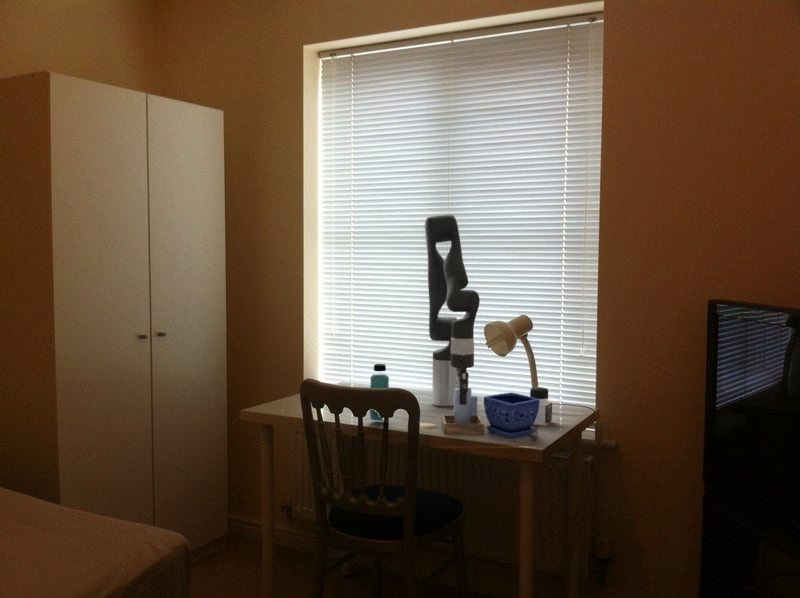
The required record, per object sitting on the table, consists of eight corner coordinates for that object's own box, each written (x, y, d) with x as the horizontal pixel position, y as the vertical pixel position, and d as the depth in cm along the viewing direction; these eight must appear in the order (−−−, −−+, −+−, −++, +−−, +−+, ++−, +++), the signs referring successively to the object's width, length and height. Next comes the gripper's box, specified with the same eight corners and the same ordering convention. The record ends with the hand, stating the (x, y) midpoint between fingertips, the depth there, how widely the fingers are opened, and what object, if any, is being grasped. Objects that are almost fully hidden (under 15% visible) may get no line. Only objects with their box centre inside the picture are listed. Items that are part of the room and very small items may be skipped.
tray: (441, 425, 241) (441, 415, 241) (479, 425, 242) (479, 415, 241) (444, 435, 229) (444, 424, 229) (483, 435, 229) (484, 424, 229)
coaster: (406, 424, 243) (406, 422, 243) (436, 424, 243) (436, 422, 243) (406, 431, 233) (406, 430, 233) (437, 431, 233) (437, 430, 233)
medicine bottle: (545, 426, 242) (546, 390, 241) (525, 423, 245) (525, 388, 244) (552, 421, 248) (552, 387, 247) (532, 419, 251) (532, 385, 250)
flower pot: (541, 435, 229) (541, 398, 228) (510, 442, 221) (511, 403, 221) (511, 427, 240) (512, 391, 239) (481, 433, 232) (481, 396, 231)
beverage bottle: (378, 419, 250) (378, 361, 248) (393, 422, 245) (393, 364, 244) (365, 423, 245) (365, 364, 243) (380, 426, 240) (380, 366, 239)
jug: (452, 426, 238) (453, 387, 237) (475, 426, 238) (476, 387, 237) (454, 430, 232) (454, 390, 232) (477, 430, 232) (478, 390, 232)
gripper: (449, 349, 241) (448, 397, 241) (452, 354, 226) (451, 406, 227) (471, 349, 241) (471, 397, 242) (476, 355, 226) (475, 406, 227)
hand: (461, 401), depth 234 cm, fingers open, 8 cm apart
